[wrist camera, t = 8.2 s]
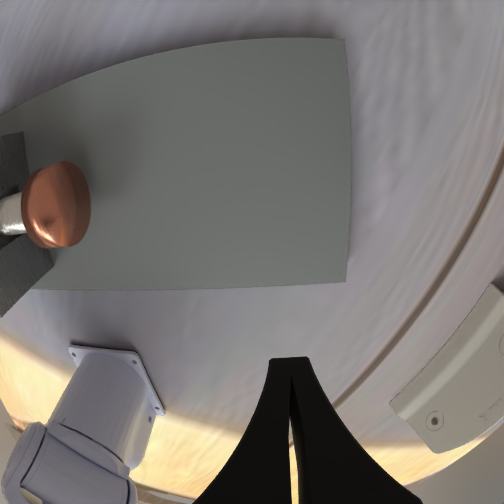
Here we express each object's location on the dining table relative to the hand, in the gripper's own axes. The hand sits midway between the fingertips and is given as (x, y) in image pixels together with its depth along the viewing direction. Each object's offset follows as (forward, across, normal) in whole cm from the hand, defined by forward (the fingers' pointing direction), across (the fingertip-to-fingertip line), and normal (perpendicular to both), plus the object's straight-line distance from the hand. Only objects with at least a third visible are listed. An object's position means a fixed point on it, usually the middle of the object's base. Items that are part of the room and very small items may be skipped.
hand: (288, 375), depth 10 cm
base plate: (+9, +9, -6) cm, 14 cm away
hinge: (+10, -18, +12) cm, 24 cm away
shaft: (+7, +18, -6) cm, 20 cm away
